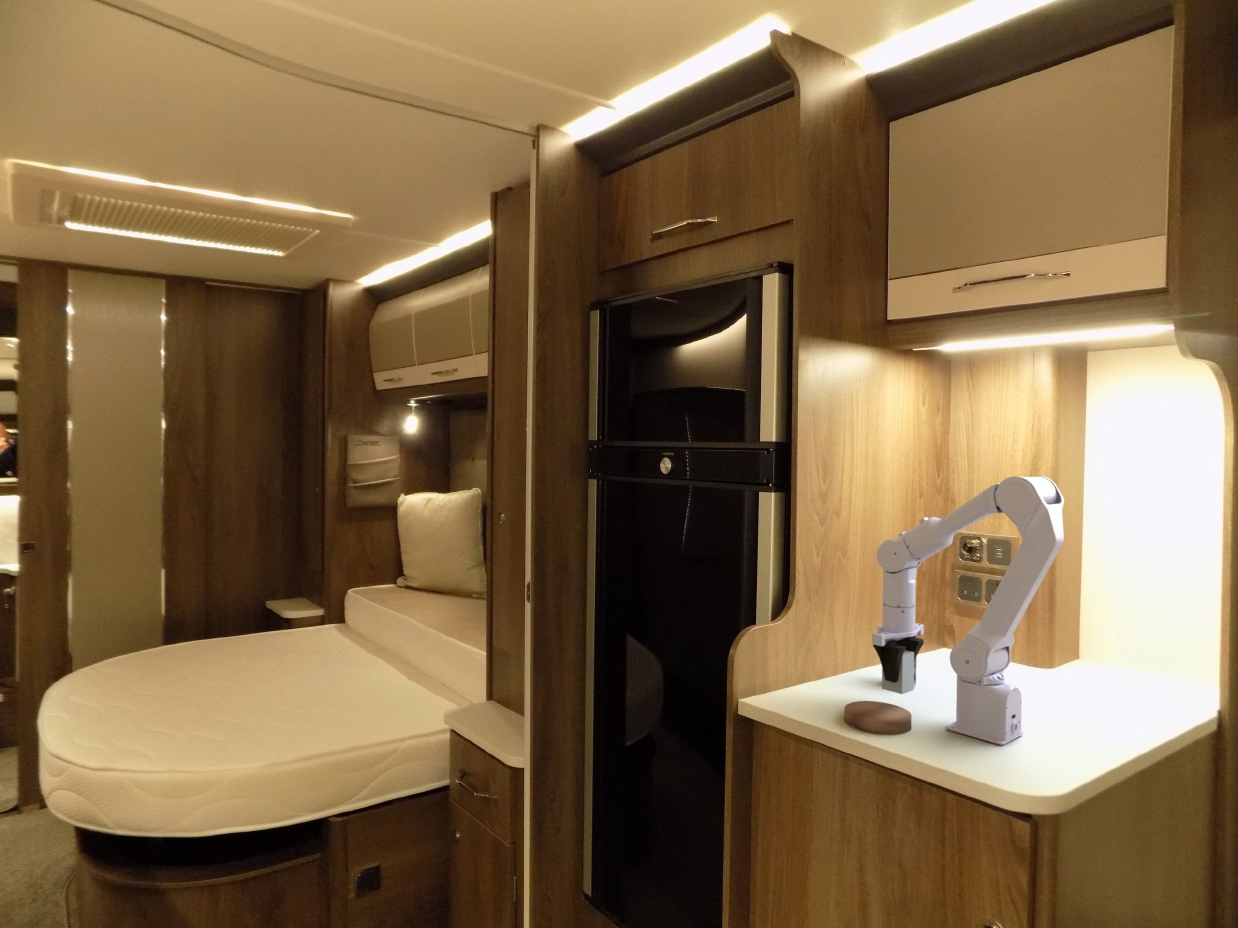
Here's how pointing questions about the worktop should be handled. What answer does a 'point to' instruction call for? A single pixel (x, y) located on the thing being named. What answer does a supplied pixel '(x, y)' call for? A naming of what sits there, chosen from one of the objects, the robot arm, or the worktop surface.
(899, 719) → the plinth
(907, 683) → the block
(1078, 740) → the worktop surface
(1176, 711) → the worktop surface
